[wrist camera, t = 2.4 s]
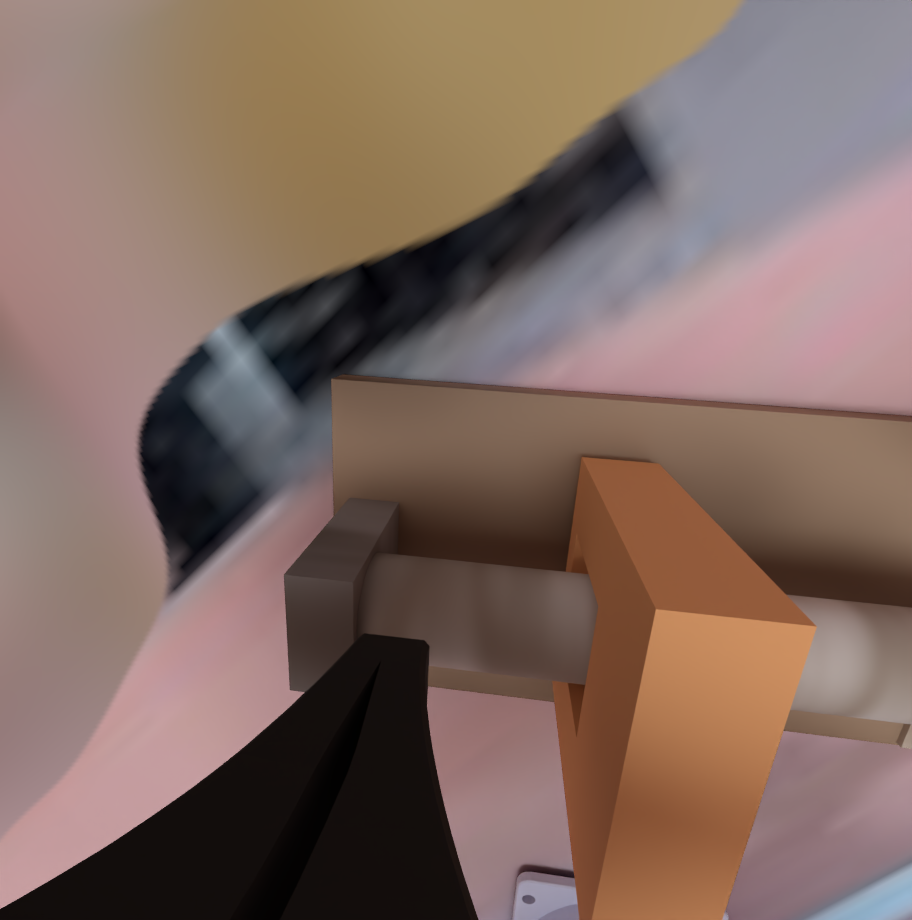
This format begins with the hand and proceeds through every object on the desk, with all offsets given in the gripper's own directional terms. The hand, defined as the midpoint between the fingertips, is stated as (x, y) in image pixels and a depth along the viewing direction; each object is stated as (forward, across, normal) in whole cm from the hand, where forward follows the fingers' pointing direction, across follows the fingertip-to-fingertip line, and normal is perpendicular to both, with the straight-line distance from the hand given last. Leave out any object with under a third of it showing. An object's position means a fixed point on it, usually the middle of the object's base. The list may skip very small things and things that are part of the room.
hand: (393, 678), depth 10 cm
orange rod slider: (+5, -5, 0) cm, 7 cm away
